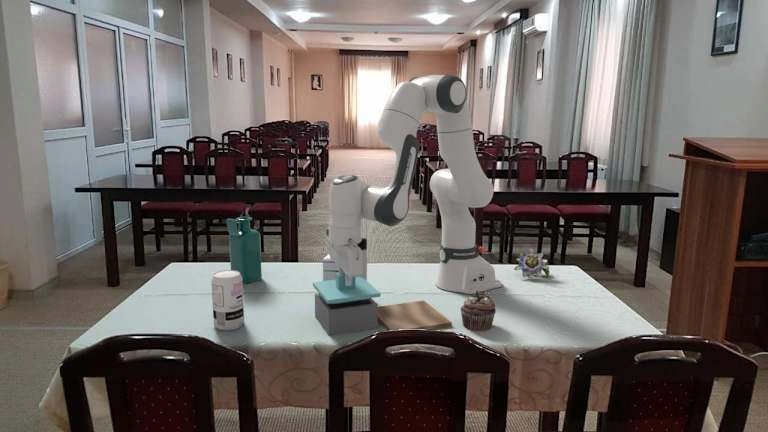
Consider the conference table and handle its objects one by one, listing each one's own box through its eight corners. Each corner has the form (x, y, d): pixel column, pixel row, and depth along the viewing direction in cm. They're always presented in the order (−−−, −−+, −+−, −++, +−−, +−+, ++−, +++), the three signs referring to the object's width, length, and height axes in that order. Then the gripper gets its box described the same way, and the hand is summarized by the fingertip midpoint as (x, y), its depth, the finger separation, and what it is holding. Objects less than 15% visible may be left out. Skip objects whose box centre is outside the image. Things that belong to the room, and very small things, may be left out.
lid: (362, 282, 171) (362, 263, 170) (380, 300, 158) (380, 279, 156) (312, 289, 166) (312, 269, 164) (327, 307, 152) (327, 285, 151)
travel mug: (352, 304, 177) (352, 241, 173) (343, 297, 183) (343, 236, 178) (370, 301, 180) (370, 239, 175) (361, 294, 185) (361, 234, 181)
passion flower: (529, 293, 204) (513, 269, 200) (522, 278, 214) (506, 254, 210) (558, 278, 201) (542, 252, 197) (549, 263, 211) (534, 238, 207)
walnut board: (423, 304, 178) (423, 300, 177) (451, 326, 161) (451, 322, 161) (369, 311, 171) (369, 307, 171) (392, 335, 155) (392, 331, 155)
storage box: (360, 310, 172) (360, 288, 171) (377, 328, 160) (377, 304, 158) (315, 316, 167) (314, 293, 166) (328, 335, 154) (328, 310, 153)
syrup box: (341, 305, 176) (341, 259, 173) (322, 303, 177) (322, 258, 174) (346, 298, 182) (346, 254, 179) (328, 297, 183) (327, 253, 180)
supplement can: (217, 320, 164) (214, 269, 161) (246, 319, 165) (244, 269, 161) (211, 331, 156) (208, 279, 153) (242, 331, 157) (239, 278, 153)
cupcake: (490, 318, 167) (492, 286, 165) (497, 332, 158) (499, 298, 155) (457, 318, 167) (458, 286, 165) (463, 332, 157) (464, 298, 155)
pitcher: (247, 273, 205) (245, 213, 200) (264, 278, 200) (262, 216, 195) (225, 280, 197) (222, 218, 192) (242, 285, 192) (239, 221, 187)
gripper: (369, 243, 150) (369, 293, 153) (345, 225, 168) (345, 271, 171) (346, 245, 147) (346, 296, 150) (324, 227, 166) (324, 273, 169)
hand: (345, 282), depth 161 cm, fingers closed on lid, 2 cm apart
